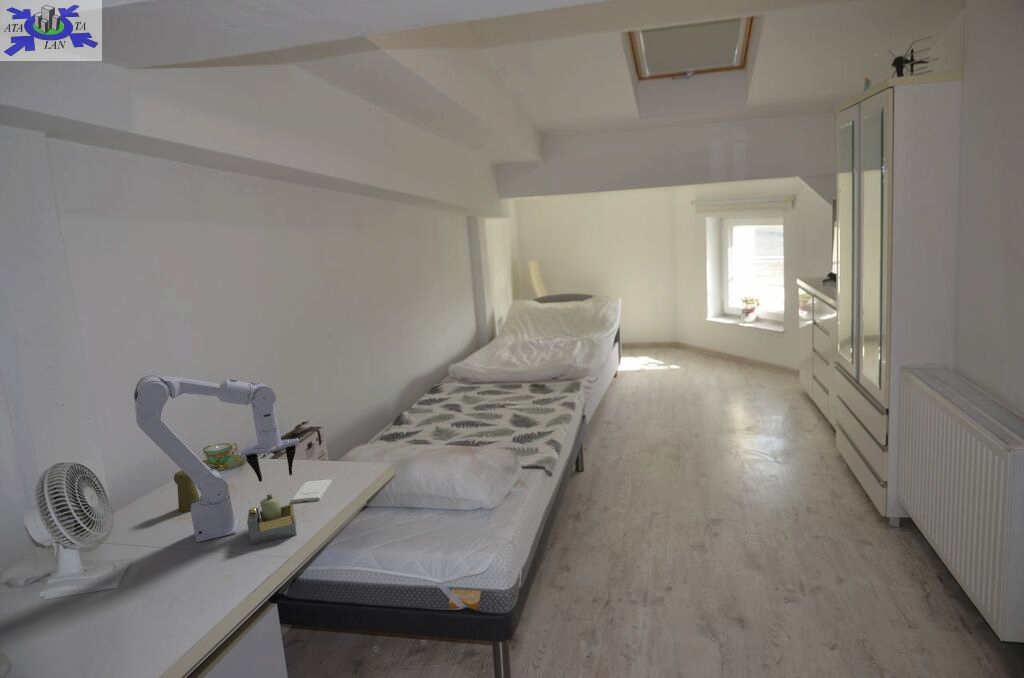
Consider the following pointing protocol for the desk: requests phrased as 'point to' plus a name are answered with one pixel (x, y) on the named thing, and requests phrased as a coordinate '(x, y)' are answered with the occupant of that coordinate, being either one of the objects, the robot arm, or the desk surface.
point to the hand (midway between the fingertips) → (275, 477)
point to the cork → (185, 491)
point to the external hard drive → (312, 491)
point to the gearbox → (271, 525)
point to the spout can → (270, 508)
